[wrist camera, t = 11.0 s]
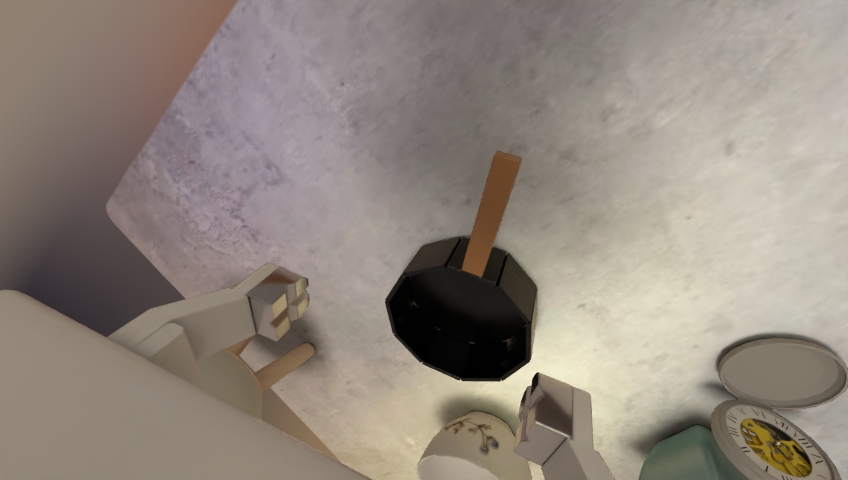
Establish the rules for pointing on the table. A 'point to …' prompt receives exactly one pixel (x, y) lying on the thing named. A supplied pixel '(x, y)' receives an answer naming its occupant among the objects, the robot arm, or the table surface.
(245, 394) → the planter
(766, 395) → the pocket watch
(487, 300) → the saucepan
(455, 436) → the white floral bowl
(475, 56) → the table surface
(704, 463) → the flower pot
